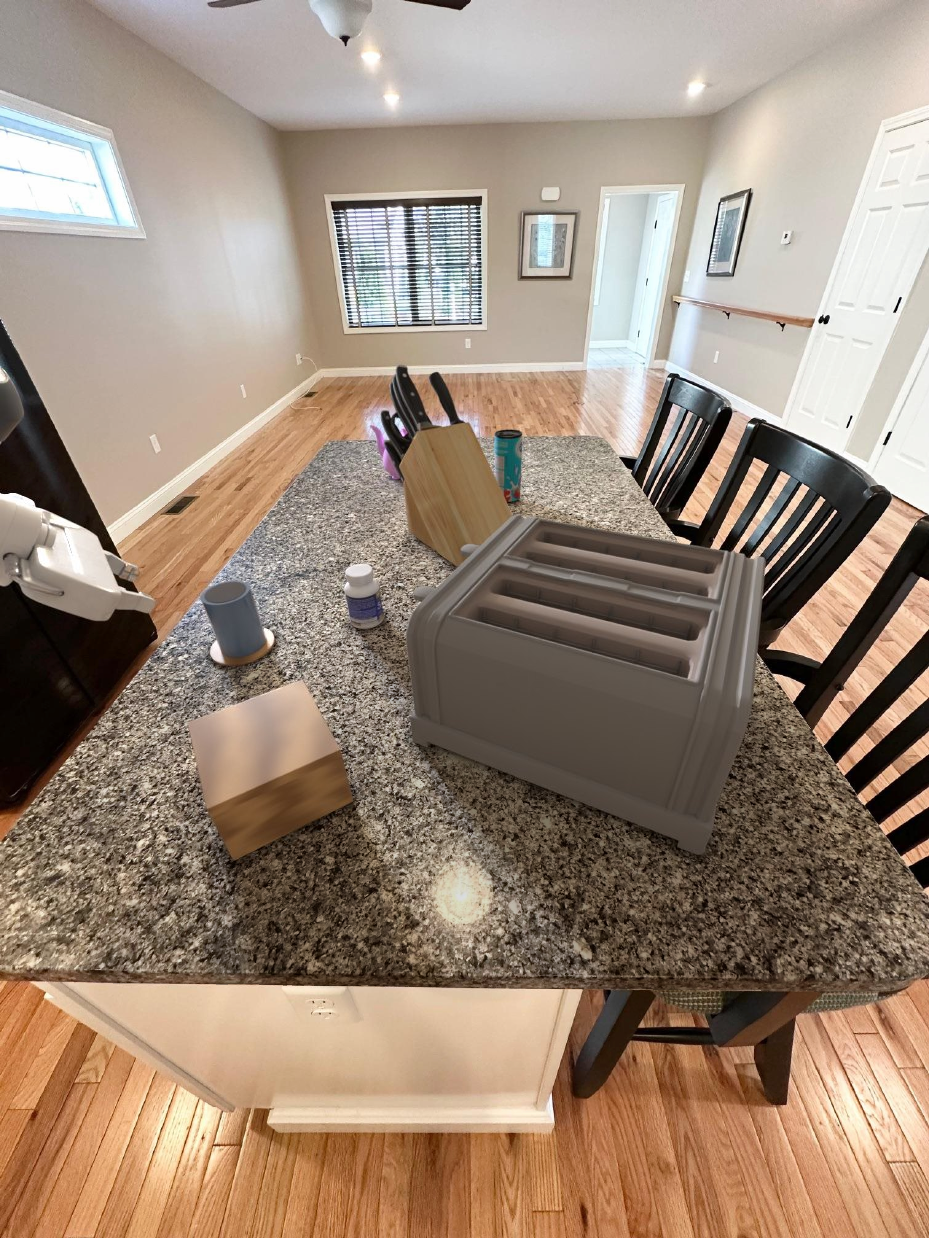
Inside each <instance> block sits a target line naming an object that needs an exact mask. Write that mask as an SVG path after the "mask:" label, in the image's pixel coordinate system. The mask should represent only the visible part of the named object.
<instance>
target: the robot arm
mask: <svg viewBox="0 0 929 1238" xmlns="http://www.w3.org/2000/svg"><path fill="white" fill-rule="evenodd" d="M24 417H25V411H24V406H23V403H22V400H21V397H20V394H19V392H18V390H17V387H16V385H15V384H14V382H13V380H12V378H11V377H10V375H9V374H8V372H7V371H6V370H5V368H3V367H2V366H0V445H1V444H2V442H4V441H5V440H6V439H7V438H8V437H9V436H10V434H12V433H13V431H14V429H15V428H16V427H17V426H18V425H19V424H20V422H21V421H22V419H24ZM140 574H141V571H140V569H139V567H138V566H137V565H135V564H133V563H129V562H127V561H125V560H123V559H122V558H119V557H118V556H117V555H116V554H114V553H112V552H110V551H107V550H104V549H103V546H102V544H101V542H100V540H99V537H98V536H97V535H96V534H95V533H93V532H92V531H90V530H88V529H87V528H84V527H83V526H81V525H79V524H77V523H76V522H75V523H74V522H72V521H71V520H68V519H66V518H64V517H62V516H60V515H57V514H55V513H53V512H50V511H49V510H46V509H43V508H40V507H36V504H35V501H33V500H32V499H30V498H28V497H26V496H23V495H21V494H18V493H8V494H3V493H0V586H1V587H7V586H9V585H10V584H11V583H13V581H14V582H16V583H17V584H18V585H19V586H20V589H21V592H22V593H23V594H24V595H25V596H26V597H28V598H29V599H31V600H33V601H35V602H37V603H41V604H42V605H45V606H48V607H51V608H54V609H56V610H60V611H62V612H65V613H68V614H71V615H74V616H77V617H80V618H84V619H87V620H90V621H94V622H105V621H109V619H110V618H111V617H112V615H113V614H114V612H115V610H125V611H128V610H129V611H134V610H135V611H137V612H141V613H145V614H150V613H152V611H153V610H154V608H155V606H156V604H157V602H156V600H155V598H154V596H153V595H152V594H148V593H145V592H142V591H140V590H139V591H138V592H135V591H129V590H126V589H127V588H124V587H122V586H119V585H118V582H117V580H116V578H115V575H117V576H118V577H119V578H120V579H122V580H125V581H128V582H131V583H134V582H136V581H137V580H138V577H140Z"/></svg>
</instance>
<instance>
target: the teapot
mask: <svg viewBox="0 0 929 1238" xmlns="http://www.w3.org/2000/svg"><path fill="white" fill-rule="evenodd" d="M369 428H371V430H372V431H373V432H374V434H375V437H376V446H377V451H378V454H379V455H380V457H382V467H383V469H384V470H385V471H386V472H387V473H388V474H389V475H390V476H392V477H391V479H392V480H401V478H400V476H399V474H398V472H397V470H396V468H395V466H394V464H393V462H392V460H391V458H390V456H389V454H388V452H387V450H386V449H385V446H384V441H385V439H384V436H383V433H382V431H381V429H380V428H379V427H377V426H375V425H372V424H369ZM400 432H401V434H402V436H405V435H406V434H407V433H408V432H407V431H406V429H405V427H404V426H403V427H401V430H400ZM388 440H389V439H388ZM389 441H390V440H389Z"/></svg>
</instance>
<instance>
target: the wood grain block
mask: <svg viewBox="0 0 929 1238" xmlns="http://www.w3.org/2000/svg"><path fill="white" fill-rule="evenodd" d="M186 723H187V729H188V733H189V736H190V741H191V746H192V750H193V756H194V760H195V765H196V768H197V773H198V777H199V781H200V786H201V790H202V796H203V800H204V804H205V809H206V811H207V814H208V815H209V818H210V820H211V821H212V823H213V824H214V826H215V829H216V830H217V831H218V834H219V836H220V838H221V840H222V842H223V843H224V846H225V847H226V849H227V851H228V853H229V855H230V857H231V859H232V861H236V860H239V859H240V858H242V857H244V856H247V855H248V854H251V853H253V852H254V851H256V850H259V849H261V848H262V847H264V846H266V845H268V844H270V843H273V842H274V841H277V840H279V839H280V838H282V837H285V836H287V835H289V834H290V833H292V832H295V831H297V830H299V829H301V828H303V827H305V826H307V825H309V824H311V823H313V822H315V821H317V820H318V819H319V820H320V819H322V818H323V817H324V816H327V815H329V814H331V813H333V812H335V811H337V810H339V809H341V808H343V807H345V806H347V805H349V804H351V803H353V802H354V797H353V793H352V790H351V786H350V781H349V778H348V774H347V769H346V766H345V762H344V761H345V760H344V758H343V754H342V750H341V748H340V746H339V744H338V742H337V740H336V738H335V737H334V735H333V733H332V731H331V729H330V727H329V725H328V724H327V721H326V719H325V718H324V715H323V714H322V712H321V710H320V708H319V707H318V705H317V702H316V701H315V699H314V697H313V695H312V693H311V691H310V689H309V688H308V686H307V683H306V682H305V680H304V678H303V679H300V680H297V681H294V682H292V683H289V684H286V685H283V686H280V687H278V688H275V689H273V690H270V691H268V692H267V691H266V692H265V693H262V694H259V695H257V696H255V697H252V698H249V699H247V700H244V701H241V702H238V703H235V704H233V705H230V706H228V707H225V708H222V709H220V710H217V711H215V712H212V713H209V714H206V715H204V716H201V717H199V718H196V719H194V720H190V721H188V722H186Z"/></svg>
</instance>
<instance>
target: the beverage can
mask: <svg viewBox="0 0 929 1238" xmlns="http://www.w3.org/2000/svg"><path fill="white" fill-rule="evenodd" d="M522 458H523V432H522V431H521V430H518V429H512V428H511V429H508V428H507V429H500V430H497V431H495V432H494V476H495V478H496V480H497V482H498V485H499V487H500V489H501V491H502V493H503V495H504V497H505V500H506V502H507V504H508V505H511V504H515V503H517V502H519V501H520V499H521V493H522V492H521V489H522V465H523V464H522V461H523V459H522Z"/></svg>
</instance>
